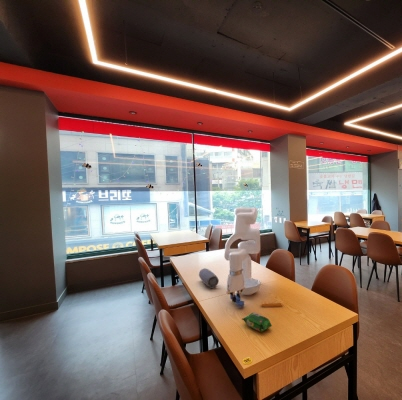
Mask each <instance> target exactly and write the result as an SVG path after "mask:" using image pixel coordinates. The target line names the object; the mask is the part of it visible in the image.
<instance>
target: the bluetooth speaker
mask: <svg viewBox="0 0 402 400" xmlns="http://www.w3.org/2000/svg"><path fill="white" fill-rule="evenodd" d="M198 277H199V278H200V280H201V281H202V283H203V284H204V285H205V286H207V287H208V288H216V287H218V285H219V278H218V276H217V275H216V274H215V273H214V272H213V271H211V270H210V269H209V268H206V267H205V268H201V270H200V271H199V272H198Z"/></svg>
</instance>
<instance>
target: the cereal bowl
mask: <svg viewBox="0 0 402 400" xmlns="http://www.w3.org/2000/svg"><path fill="white" fill-rule="evenodd" d="M244 287H245V289H244V290H243V291H242V292H241V295H243V296H252V295H253V294H255V293H257V292H258V291H259V290H260V288H261V281H260V280H259V279H255V278H253V279H244Z"/></svg>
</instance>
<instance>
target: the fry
mask: <svg viewBox="0 0 402 400" xmlns="http://www.w3.org/2000/svg"><path fill="white" fill-rule="evenodd" d="M267 307H268V308H271V307H272V308H273V307H282V301H262V302H261V308H267Z"/></svg>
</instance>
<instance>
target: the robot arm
mask: <svg viewBox="0 0 402 400" xmlns="http://www.w3.org/2000/svg"><path fill="white" fill-rule="evenodd" d="M233 213H234V215H235V216H234V223H233V233H232V234H231V235H230V236H229V238H228V239H227V240H226V242H225V246H224V253H223V255H224V260H226V261H228V262H229V263H228V265H229V273H228V274H227V279H226V280H227V281H226V295H229V296H230V295H232V300H231V301H232V302H233V303H234V304H236V296H238V297H239V298H240V299H241V295H242V294H241V292H242V291H243V290H244V289H245V287H244V279H254V278H253V277H252V258H251V257H252V256H250V254H251V255H253V254H254V255H255V254H259V253H261V231H260V229H259V228H258V227H251V225H255V224H256V222H257V218H258V216H259V215H258V213H259V212H258V208H257V207H256V206H255V207H253V206H249V207H248V206H240V207H239V206H238V207H235V208H234V211H233ZM239 239H240V240H242V241H240V242H239V243H238V244H237V248H231V246H232V244H233V243H234V242H235V241H237V240H239ZM235 295H236V296H235Z"/></svg>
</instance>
